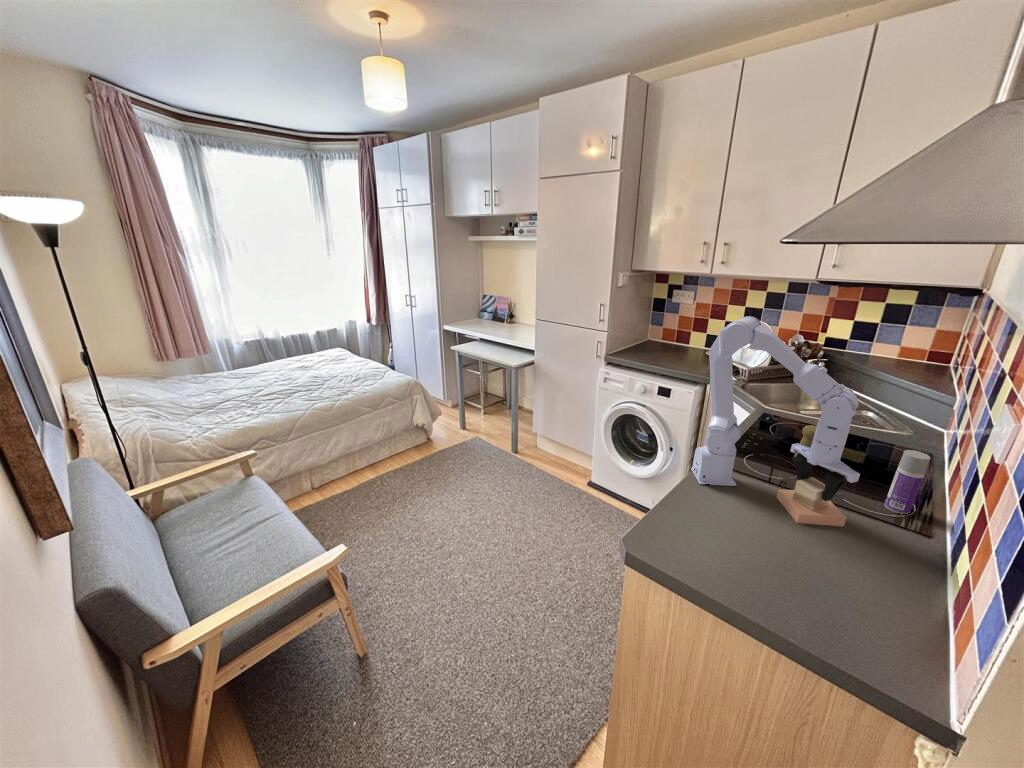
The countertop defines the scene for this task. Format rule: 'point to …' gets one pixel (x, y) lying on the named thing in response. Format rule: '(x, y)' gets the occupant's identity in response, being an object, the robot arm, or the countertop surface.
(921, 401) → the countertop surface
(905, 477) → the container
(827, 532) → the countertop surface
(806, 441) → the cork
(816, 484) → the beech cube
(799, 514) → the terracotta block
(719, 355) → the robot arm
